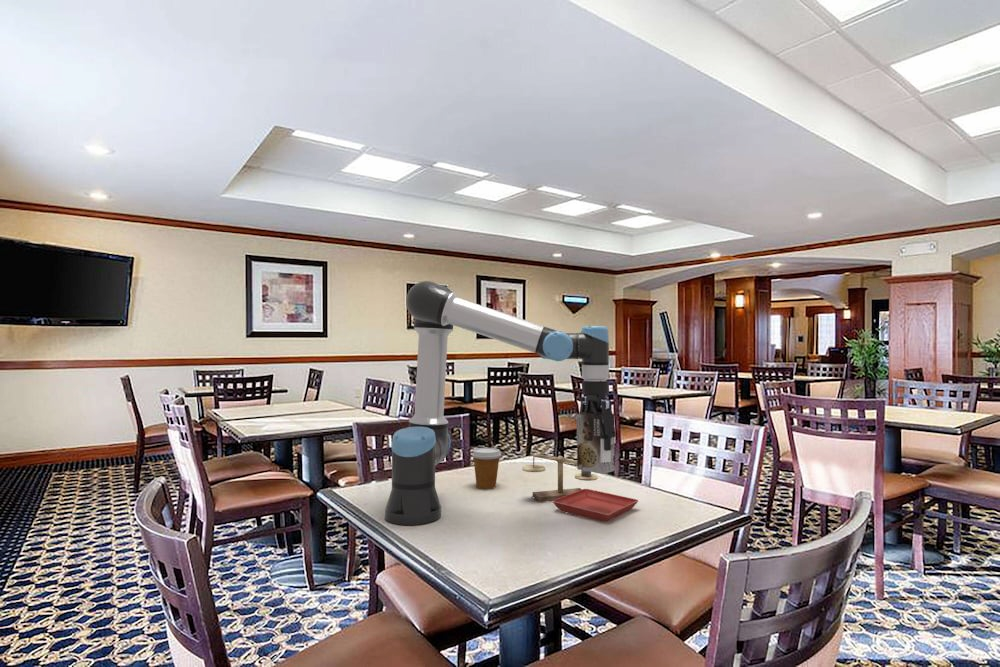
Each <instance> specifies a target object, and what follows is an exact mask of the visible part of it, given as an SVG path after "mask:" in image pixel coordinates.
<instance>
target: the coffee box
mask: <svg viewBox="0 0 1000 667" xmlns="http://www.w3.org/2000/svg"><path fill="white" fill-rule="evenodd" d="M612 415H613V421H614V422H615V413H612ZM599 418H600V420H601V421H602V423H603V416H602V415H599V416H598V415H594V413H591V412H589V413H586V412H582V413H580V412H579V413H576V451H577V452H576V461H577V464H576V469H577V471H578V470H579V471H581V470H584V471H590V472H591V473H596V474H601V475H605V474H608V473H611V472H615V470H616V464H615V463H616V462H615V461H616V458H615V456H616V455H615V454H616V452H615V451H616V450H615V449H616V447H615V444H616V443H615V440H616V439H615V438H616V436H615V437H612V438H611V462H604V463H602V462H601V438H600V437H601V436H602V434H601V430H600V427H599ZM611 433H612V432H611Z"/></svg>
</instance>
